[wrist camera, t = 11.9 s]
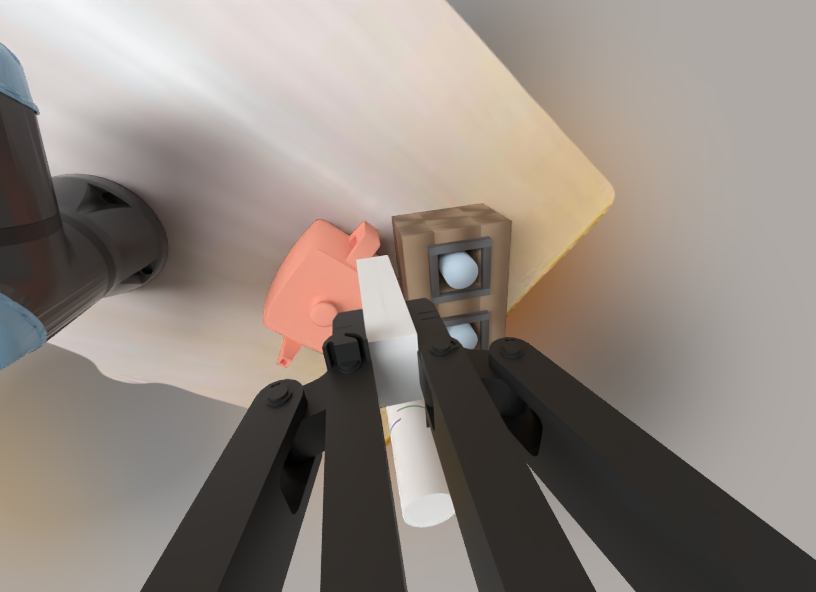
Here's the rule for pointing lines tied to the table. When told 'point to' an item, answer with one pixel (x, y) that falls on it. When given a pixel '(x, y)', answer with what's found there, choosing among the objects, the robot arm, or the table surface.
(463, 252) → the peg front
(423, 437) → the cylindrical container
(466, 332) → the peg rear
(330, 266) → the teapot
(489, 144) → the table surface
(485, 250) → the wooden peg block
